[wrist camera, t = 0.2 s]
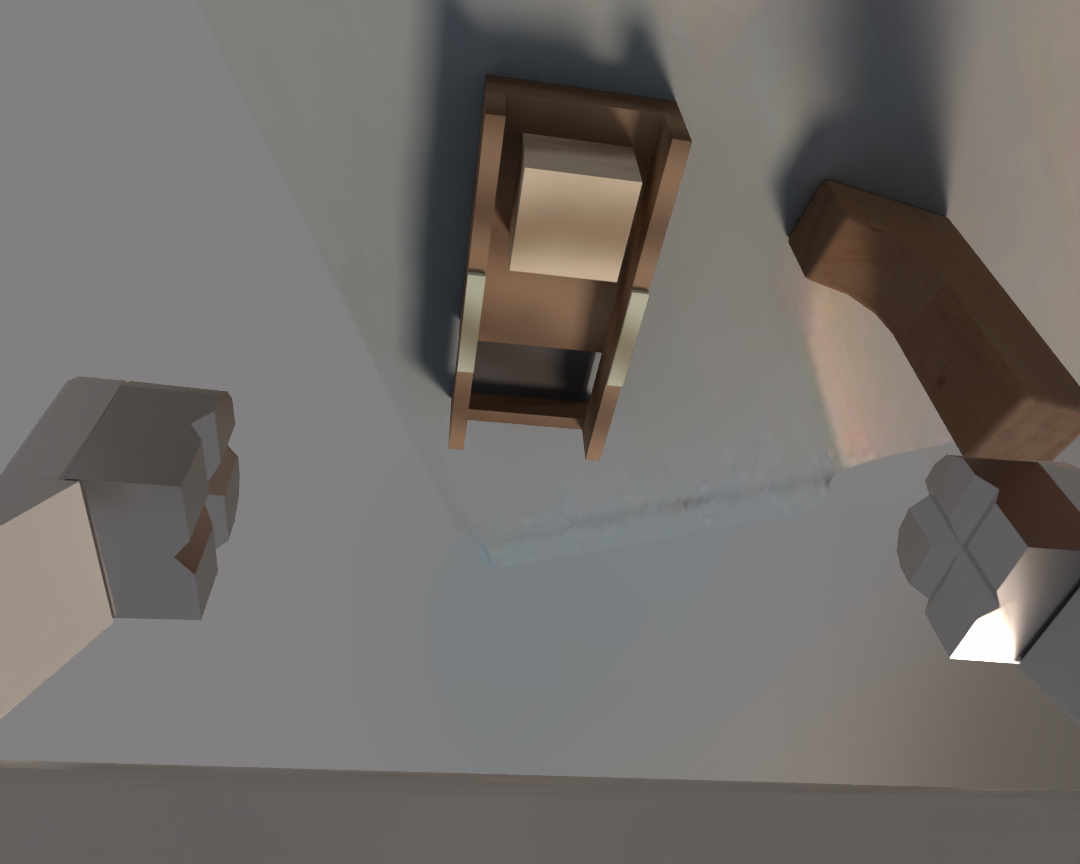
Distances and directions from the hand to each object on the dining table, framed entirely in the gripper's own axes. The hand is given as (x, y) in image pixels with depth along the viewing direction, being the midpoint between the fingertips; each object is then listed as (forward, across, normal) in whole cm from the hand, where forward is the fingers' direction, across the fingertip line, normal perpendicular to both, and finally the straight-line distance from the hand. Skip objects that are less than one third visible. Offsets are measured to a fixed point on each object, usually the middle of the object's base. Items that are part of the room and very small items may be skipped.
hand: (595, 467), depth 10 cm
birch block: (+38, -5, +11) cm, 39 cm away
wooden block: (+40, -24, +12) cm, 48 cm away
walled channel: (+40, -5, +17) cm, 44 cm away
